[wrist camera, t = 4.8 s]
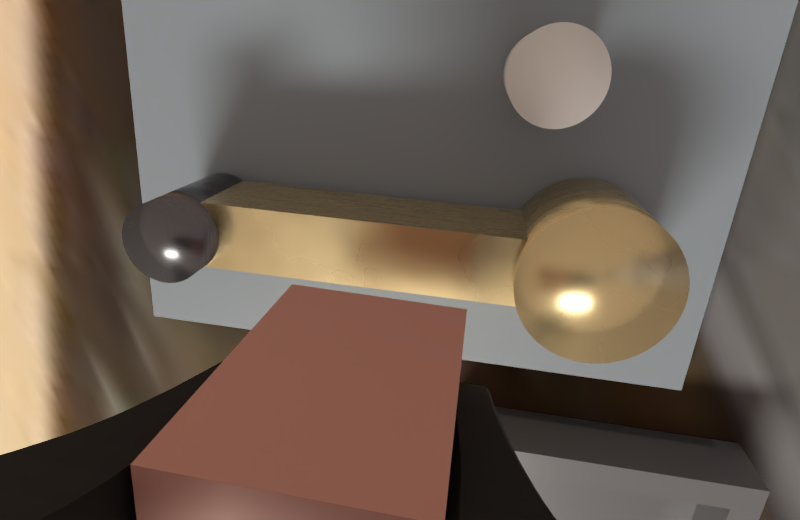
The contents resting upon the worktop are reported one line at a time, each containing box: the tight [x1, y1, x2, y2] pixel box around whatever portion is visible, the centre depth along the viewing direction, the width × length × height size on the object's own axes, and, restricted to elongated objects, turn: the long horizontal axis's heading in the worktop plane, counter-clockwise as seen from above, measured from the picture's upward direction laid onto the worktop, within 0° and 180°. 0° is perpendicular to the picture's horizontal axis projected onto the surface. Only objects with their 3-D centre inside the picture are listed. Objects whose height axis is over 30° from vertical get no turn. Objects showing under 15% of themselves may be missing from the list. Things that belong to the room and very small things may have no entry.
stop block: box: [130, 284, 467, 520], centre depth 10 cm, size 4×4×6 cm
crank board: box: [122, 0, 798, 391], centre depth 16 cm, size 20×18×5 cm
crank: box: [122, 173, 690, 364], centre depth 17 cm, size 15×4×4 cm, turn 86°
